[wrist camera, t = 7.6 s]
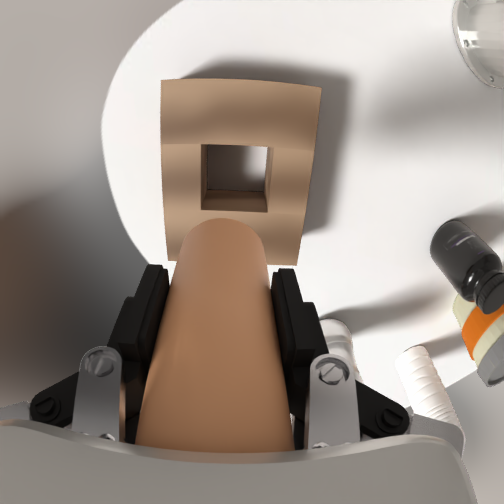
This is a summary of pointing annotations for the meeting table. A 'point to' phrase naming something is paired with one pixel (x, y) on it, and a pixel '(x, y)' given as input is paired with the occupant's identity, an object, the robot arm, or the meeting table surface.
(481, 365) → the reusable coffee cup
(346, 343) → the plastic bottle
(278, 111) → the socket block
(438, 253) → the supplement bottle
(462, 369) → the meeting table surface
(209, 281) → the peg
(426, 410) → the water bottle
